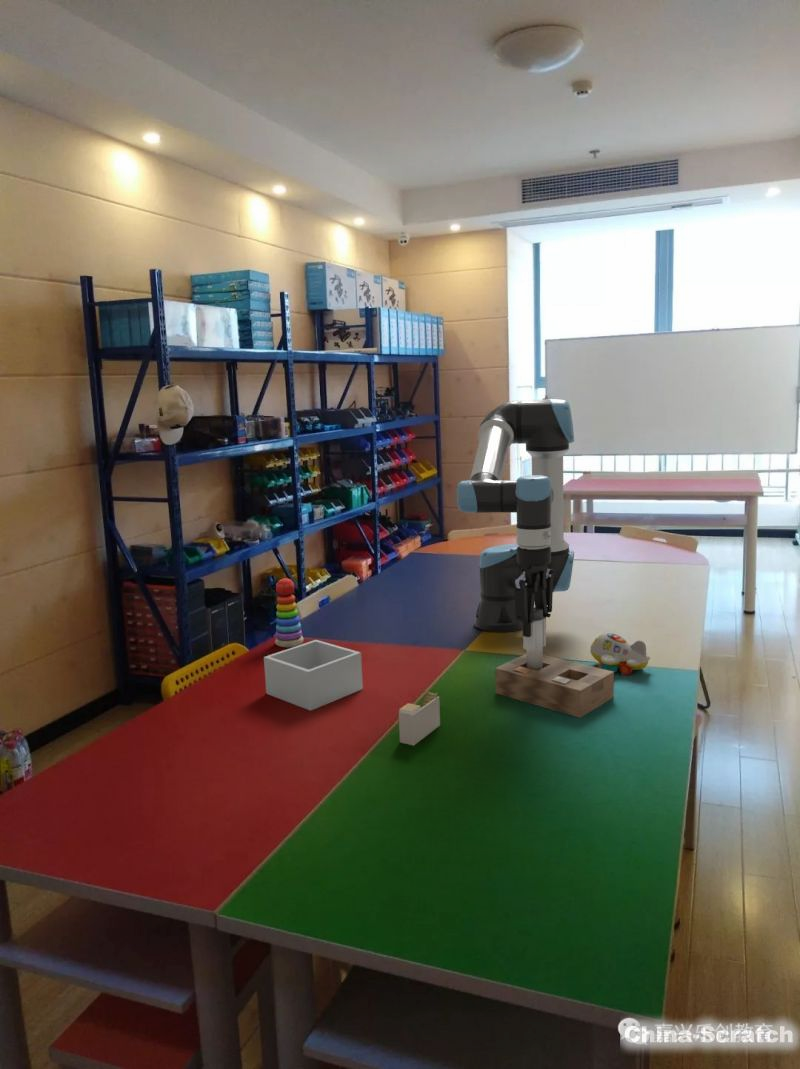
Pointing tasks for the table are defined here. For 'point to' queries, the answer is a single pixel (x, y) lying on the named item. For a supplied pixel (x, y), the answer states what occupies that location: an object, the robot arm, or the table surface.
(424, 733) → the model
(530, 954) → the table surface
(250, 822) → the table surface
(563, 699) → the socket block
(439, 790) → the table surface
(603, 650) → the toy airplane
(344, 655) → the box
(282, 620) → the stacking toy
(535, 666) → the plug
